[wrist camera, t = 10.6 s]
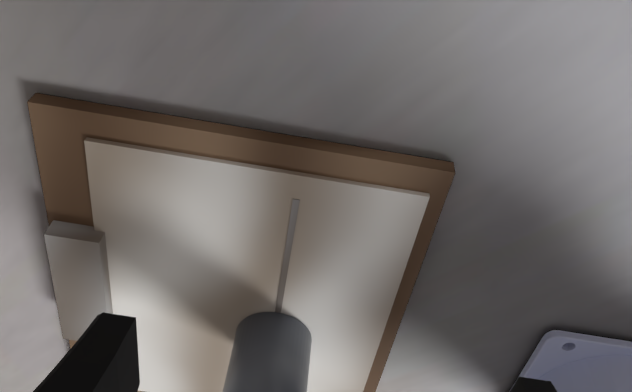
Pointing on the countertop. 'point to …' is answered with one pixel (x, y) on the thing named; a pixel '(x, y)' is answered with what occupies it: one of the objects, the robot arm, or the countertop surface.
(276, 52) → the countertop surface
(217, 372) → the clipboard
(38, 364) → the countertop surface
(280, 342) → the cylinder
